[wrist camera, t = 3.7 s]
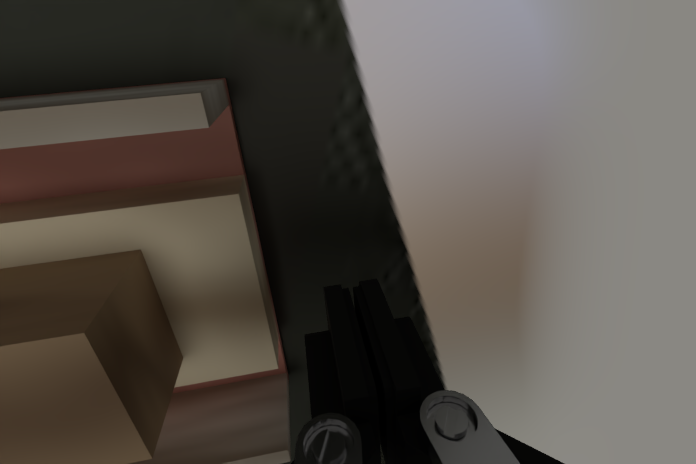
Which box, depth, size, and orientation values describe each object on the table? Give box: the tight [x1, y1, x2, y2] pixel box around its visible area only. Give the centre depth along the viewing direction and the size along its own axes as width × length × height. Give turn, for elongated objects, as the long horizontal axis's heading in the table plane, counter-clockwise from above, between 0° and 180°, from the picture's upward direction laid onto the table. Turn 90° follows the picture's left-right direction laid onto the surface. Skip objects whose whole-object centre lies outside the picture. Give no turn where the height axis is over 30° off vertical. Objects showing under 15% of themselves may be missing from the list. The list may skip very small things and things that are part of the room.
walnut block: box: [0, 249, 183, 464], centre depth 11 cm, size 5×5×4 cm
